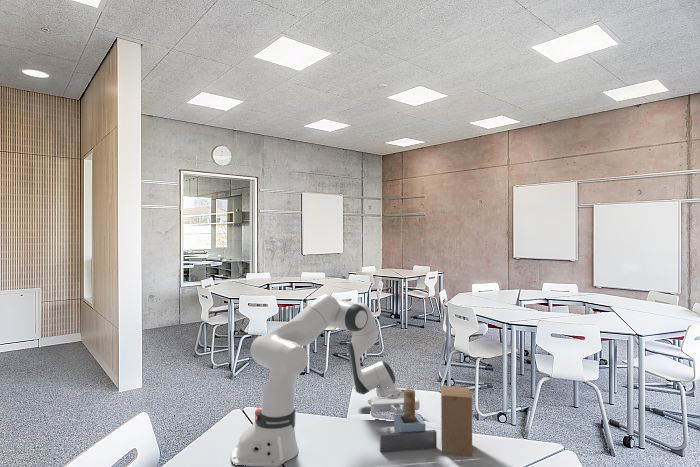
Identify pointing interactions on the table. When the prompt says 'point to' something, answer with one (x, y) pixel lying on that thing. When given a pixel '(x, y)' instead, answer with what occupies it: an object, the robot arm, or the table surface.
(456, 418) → the wooden block
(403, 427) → the blue hollow square block
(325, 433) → the table surface
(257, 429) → the robot arm
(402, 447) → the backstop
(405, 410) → the dowel
